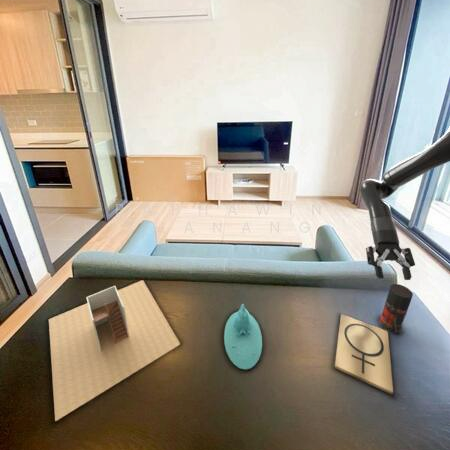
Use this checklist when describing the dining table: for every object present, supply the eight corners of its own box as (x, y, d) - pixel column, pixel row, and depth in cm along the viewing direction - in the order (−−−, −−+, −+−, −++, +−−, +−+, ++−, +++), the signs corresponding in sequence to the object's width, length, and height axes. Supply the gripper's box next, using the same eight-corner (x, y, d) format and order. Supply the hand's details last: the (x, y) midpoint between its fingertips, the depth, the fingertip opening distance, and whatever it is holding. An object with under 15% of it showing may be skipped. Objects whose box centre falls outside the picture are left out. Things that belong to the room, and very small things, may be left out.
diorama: (223, 369, 69) (223, 348, 66) (224, 311, 88) (224, 292, 85) (266, 369, 69) (268, 348, 66) (258, 311, 88) (259, 292, 85)
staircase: (100, 352, 74) (89, 310, 68) (93, 326, 82) (83, 287, 76) (129, 336, 79) (122, 296, 73) (120, 313, 87) (113, 275, 81)
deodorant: (379, 315, 87) (389, 281, 81) (399, 322, 84) (411, 288, 78) (379, 327, 82) (390, 293, 76) (400, 336, 79) (413, 300, 74)
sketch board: (387, 333, 80) (388, 330, 80) (392, 394, 64) (393, 392, 63) (340, 316, 86) (341, 313, 86) (334, 367, 70) (335, 365, 69)
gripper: (368, 227, 85) (378, 277, 78) (411, 229, 84) (424, 279, 77) (358, 233, 91) (366, 278, 85) (398, 234, 91) (409, 281, 84)
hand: (394, 279), depth 81 cm, fingers open, 8 cm apart
